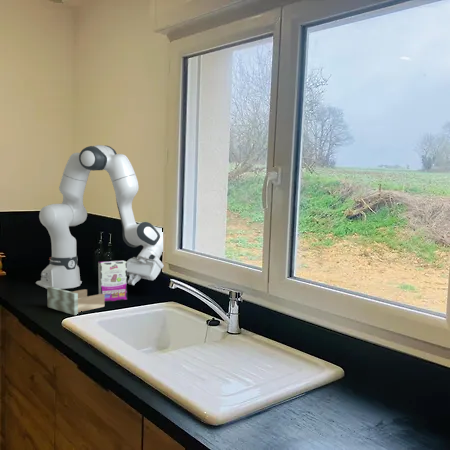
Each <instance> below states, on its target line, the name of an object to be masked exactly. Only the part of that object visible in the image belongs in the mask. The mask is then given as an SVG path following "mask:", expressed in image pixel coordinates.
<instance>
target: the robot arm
mask: <svg viewBox="0 0 450 450" xmlns="http://www.w3.org/2000/svg"><path fill="white" fill-rule="evenodd" d="M134 169H135V168H134V167H133V165H132V163H131V161H130V160H129V158H128V156H127V155H125V154H123V153H117V151H116V150H115V149H114V148H113V147H112V146H109V145H101V144H97V145H89V146H86V147H84V148H83V149H82V150H81V151H80V152H74V153H72V154H71V155H70V156H69V158H68V160H67V163H66V164H65V167H64V170H63V173H62V176H61V178H60V183H59V186H58V190H59V193H61V194H62V201H61V203H52V204H48V205H46V206H43V207H42V208H41V209H40V211H39V215H38V218H39V221H40V223H41V224H42V226H44V227H45V228H46V230H47V231H48V234H49V236H50V237H49V238H50V243H51V256H50V257H48V258H49V259H48V260H49V263H48V265H47V266H46V267H45V268H44V269H43V270H42V271H41V273H40V276H41V277H40V280H37V281H36V282H35V284H36V285H37V286H40V287H42V288H45V289H46V290H47V287H50V286H51V287H55V288H59V289H62V290H66V289H74V288H77V287H80V286H81V284H82V282H83V281H82V280H81V276H80V275H81V274H80V267H79V265H78V255H77V239H76V237H74V236H73V235H72V234H71V231H70V227H76V226H78V225H80V224H83V223H84V222H85V221H87V217H88V211H87V209H86V207H85V206H84V194H85V190H86V186H87V182H88V179H89V176H90V173H91V171H106V172H107V173H108V175H109V177H110V182H111V184H112V187H113V189H114V193H115V199H116V200H115V201H116V205H117V210H118V214H119V218H120V222H121V225H122V240H123V242H124V243H125V244H126V245H127V246H128V247H131V248H137V247H140V246H142V249H141V250H140V252H139V253H138V255H137V256H133V257H131V258H129V259H128V260H127V261H126V262H127V277H129V278H128V279H127V284H128V285H131V286H135V284H136V283H137V282H139V281H140V280H141V279H144V280H148V281H154V280H156V278H157V277H158V276H159V275H160V273H161V270H162V269H163V268H164V267H165V266H164V263H163V262H162V261H161V260H160V258H161V256H162V255H163V254H162V252H163V232H162V228H163V227H158V226H155V225H153V224H152V223H150V222H148V221H143V222H140V223H137V222H136V218H135V214H134V210H133V206H132V205H133V200H134V198H135V196H136V195H137V194H138V192H139V190H140V189H139V188H140V187H139V180H138V178H137V177H138V176H137V174H136V172H135V170H134Z"/></svg>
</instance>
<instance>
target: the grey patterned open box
mask: <svg viewBox="0 0 450 450" xmlns="http://www.w3.org/2000/svg"><path fill="white" fill-rule="evenodd" d="M46 290H47V292H46V293H47V294H46V296H47V299H46V300H47V308H50V309H53V310H56V311H59V312H63V313H66V314H70V315H73V316H77V314H78V315H79V313H81V311H82V312H86V311H90V310H94V309H100V308H104V307H105V304H106V302H105V294H99V293H98V294H93V295H88V289H85V288H84V289H78V290H74V291H69V290H66V289H59V288H55V287H51V286H50V287H47V289H46Z"/></svg>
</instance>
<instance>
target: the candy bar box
mask: <svg viewBox="0 0 450 450" xmlns="http://www.w3.org/2000/svg"><path fill="white" fill-rule="evenodd" d="M97 264H98V265H97V267H98V269H97V271H98V294H105V303H106V302H107V303H108V302H116V301H117V302H118V301H127V300H128V285H127V284H128V275H127V261H126V260H111V261H109V260H108V261H98V263H97Z"/></svg>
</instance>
